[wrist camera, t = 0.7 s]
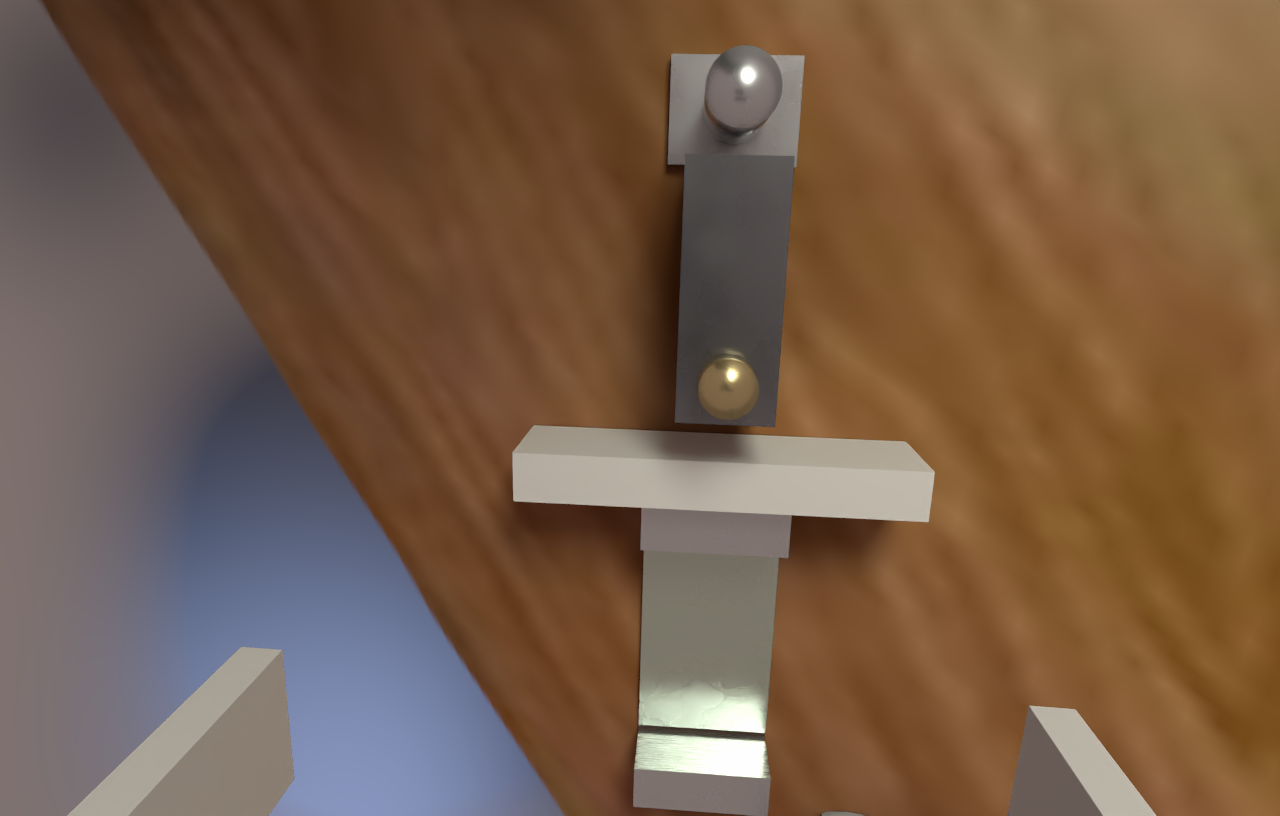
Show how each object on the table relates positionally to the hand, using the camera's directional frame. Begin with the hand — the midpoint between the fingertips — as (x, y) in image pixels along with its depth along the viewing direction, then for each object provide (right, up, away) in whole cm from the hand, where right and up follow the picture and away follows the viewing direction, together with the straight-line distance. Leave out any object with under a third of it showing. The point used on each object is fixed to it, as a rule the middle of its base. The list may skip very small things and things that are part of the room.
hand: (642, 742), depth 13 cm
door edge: (+3, +4, +20) cm, 20 cm away
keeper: (+3, -4, +22) cm, 22 cm away
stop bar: (+3, +11, +18) cm, 21 cm away
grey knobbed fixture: (+4, +17, +16) cm, 24 cm away
